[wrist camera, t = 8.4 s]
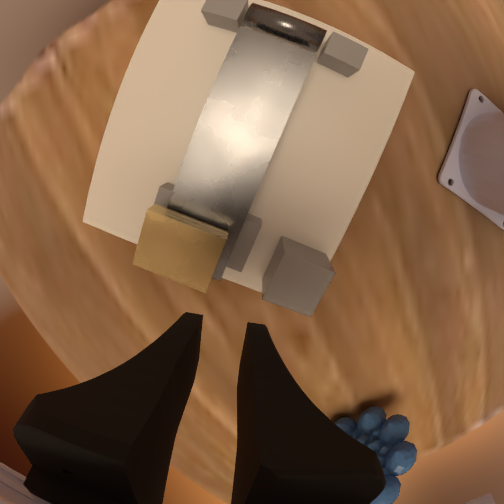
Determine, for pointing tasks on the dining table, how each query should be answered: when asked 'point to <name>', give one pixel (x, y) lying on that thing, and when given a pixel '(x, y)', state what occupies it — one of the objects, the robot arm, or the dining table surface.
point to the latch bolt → (179, 247)
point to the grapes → (384, 445)
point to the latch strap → (244, 121)
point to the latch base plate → (282, 161)
